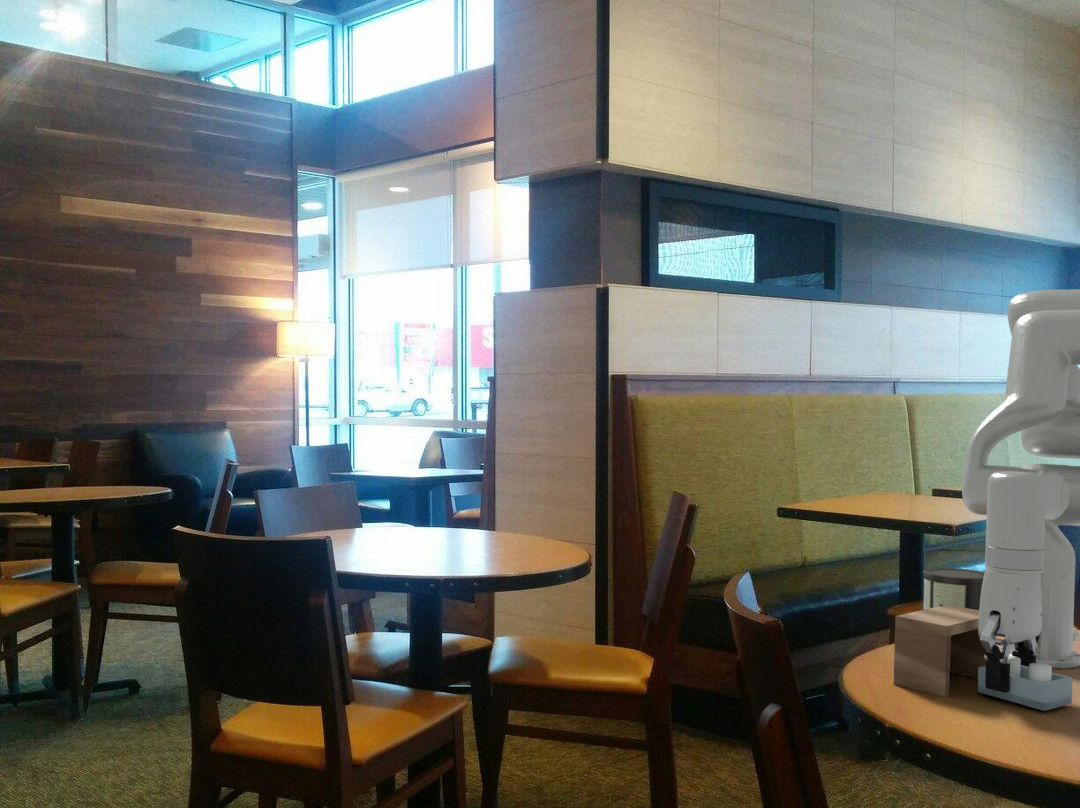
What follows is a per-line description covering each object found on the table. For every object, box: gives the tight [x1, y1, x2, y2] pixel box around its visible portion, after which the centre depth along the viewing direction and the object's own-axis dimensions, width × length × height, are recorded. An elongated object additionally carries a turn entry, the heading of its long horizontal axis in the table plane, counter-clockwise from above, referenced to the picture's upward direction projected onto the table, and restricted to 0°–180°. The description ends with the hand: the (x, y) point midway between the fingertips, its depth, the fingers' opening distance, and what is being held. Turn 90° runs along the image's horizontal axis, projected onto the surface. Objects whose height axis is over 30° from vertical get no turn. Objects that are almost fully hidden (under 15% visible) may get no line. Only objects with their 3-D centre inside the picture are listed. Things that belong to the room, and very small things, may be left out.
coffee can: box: [923, 567, 985, 610], centre depth 172 cm, size 10×10×14 cm
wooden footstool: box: [893, 605, 996, 698], centre depth 158 cm, size 14×8×10 cm, turn 130°
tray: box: [977, 656, 1073, 712], centre depth 149 cm, size 6×10×5 cm, turn 33°
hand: (1010, 684), depth 151 cm, fingers closed on tray, 6 cm apart
